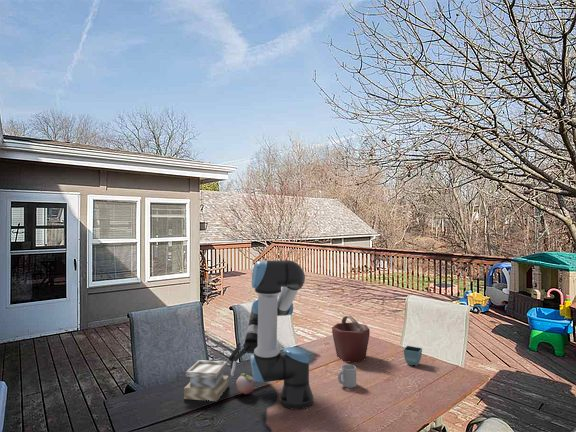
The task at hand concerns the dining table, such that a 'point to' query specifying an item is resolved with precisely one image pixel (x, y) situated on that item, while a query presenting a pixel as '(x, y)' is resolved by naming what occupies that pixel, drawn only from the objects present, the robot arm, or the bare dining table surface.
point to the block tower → (206, 380)
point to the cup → (347, 376)
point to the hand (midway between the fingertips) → (245, 376)
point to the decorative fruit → (245, 383)
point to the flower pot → (412, 355)
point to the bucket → (351, 340)
